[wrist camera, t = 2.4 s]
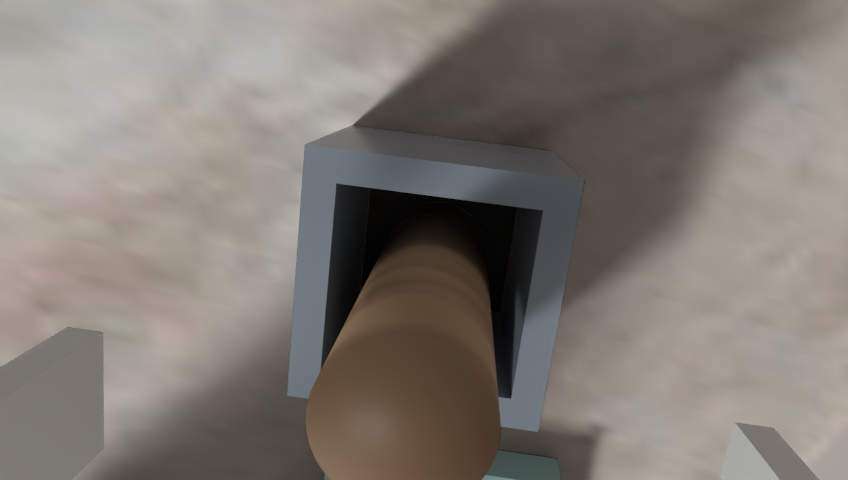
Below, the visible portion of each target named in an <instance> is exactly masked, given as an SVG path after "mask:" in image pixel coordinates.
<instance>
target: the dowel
mask: <svg viewBox="0 0 848 480" xmlns="http://www.w3.org/2000/svg"><path fill="white" fill-rule="evenodd" d="M305 425H306V433H307V438H308V441H309V445H310V448H311V450H312V453H313V455H314V457H315V459H316V461H317V462H318V464H319V466H320V467H321V469H322V470H323V471H324V473H325V474H326V475H327V476H328V478H329V479H330V480H482V479H483V477H484V476H485V475H486V474H487V472H488V470H489V469H490V467H491V465H492V464H493V461H494V459H495V456H496V454H497V451H498V447H499V443H500V434H501V423H500V410H499V398H498V387H497V375H496V364H495V353H494V341H493V330H492V318H491V307H490V296H489V284H488V273H487V261H486V250H485V241H484V236H483V233H482V231H481V229H480V227H479V225H478V223H477V222H476V220H475V219H474V218H473V217H472V216H471V215H470V214H469V213H468V212H467V211H465V210H464V209H462V208H460V207H458V206H456V205H454V204H451V203H446V202H438V201H435V202H427V203H422V204H419V205H417V206H415V207H413V208H411V209H410V210H408V211H407V212H406V213H404V214H403V215H402V216H401V217H400V219H399V220H398V221H397V223H396V224H395V226H394V228H393V230H392V232H391V234H390V236H389V238H388V240H387V242H386V244H385V246H384V247H383V249H382V251H381V253H380V255H379V257H378V259H377V261H376V263H375V265H374V267H373V269H372V271H371V273H370V275H369V277H368V279H367V281H366V283H365V285H364V287H363V289H362V291H361V293H360V295H359V297H358V298H357V300H356V302H355V304H354V306H353V308H352V310H351V312H350V314H349V316H348V318H347V320H346V322H345V324H344V326H343V328H342V330H341V332H340V334H339V336H338V338H337V340H336V342H335V344H334V346H333V348H332V349H331V351H330V353H329V355H328V357H327V359H326V361H325V363H324V365H323V367H322V369H321V371H320V373H319V375H318V377H317V379H316V381H315V383H314V385H313V387H312V389H311V392H310V395H309V398H308V401H307V407H306V417H305Z"/></svg>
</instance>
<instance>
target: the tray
mask: <svg viewBox="0 0 848 480" xmlns="http://www.w3.org/2000/svg"><path fill="white" fill-rule="evenodd" d="M324 480H330V479H329V478H328V476H327V475H326V474H325V473H324ZM482 480H561V476H560V472H559V467H558V463H557V459H555V458H548V457H541V456H535V455H528V454H521V453H514V452H507V451H500V450H498V451H497V454H496V456H495V459H494V461H493V464H492V465H491V467H490V469H489V470H488V472H487V474H486V475H485V476H484V477H483V479H482Z"/></svg>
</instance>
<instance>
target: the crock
mask: <svg viewBox="0 0 848 480" xmlns="http://www.w3.org/2000/svg"><path fill="white" fill-rule="evenodd" d="M584 181H585V180H583V179H582V178H581V177H580V176H579V175H578V174H577V173H576V172H575V171H574V170H572V169H571V168H570V167H569V166H568V165H567V164H566V163H565V162H564V161H562V160H561V159H560V158H559V157H558V156H557V155H556V154H555V153H554V152H553V151H549V150H542V149H534V148H526V147H518V146H510V145H502V144H494V143H486V142H479V141H471V140H463V139H455V138H447V137H439V136H431V135H423V134H416V133H408V132H400V131H392V130H384V129H376V128H368V127H360V126H353V125H352V126H349V127H347V128H344V129H342V130H339V131H337V132H334V133H332V134H330V135H327V136H325V137H322V138H320V139H317V140H315V141H312V142H310V143H308V144H305V149H304V163H303V177H302V192H301V206H300V220H299V234H298V248H297V262H296V276H295V290H294V304H293V318H292V332H291V346H290V360H289V374H288V388H287V396H291V397H298V398H305V399H308V398H309V395H310V392H311V389H312V387H313V385H314V383H315V381H316V379H317V377H318V375H319V373H320V371H321V369H322V367H323V365H324V363H325V361H326V359H327V357H328V355H329V353H330V351H331V349H332V348H333V346H334V344H335V342H336V340H337V338H338V336H339V334H340V332H341V330H342V328H343V326H344V324H345V322H346V320H347V318H348V316H349V314H350V312H351V310H352V308H353V306H354V304H355V302H356V300H357V298H358V297H359V295H360V291H361V281H362V270H363V260H364V250H365V240H366V230H367V220H368V210H369V200H370V190H371V188H375V189H382V190H390V191H398V192H405V193H413V194H421V195H428V196H436V197H444V198H451V199H459V200H467V201H474V202H482V203H490V204H497V205H505V206H513V207H517V210H516V216H515V223H514V229H513V235H512V241H511V248H510V254H509V260H508V267H507V273H506V279H505V285H504V292H503V298H502V304H501V310H500V312H493V311H491V318H492V330H493V341H494V353H495V364H496V375H497V387H498V398H499V410H500V423H501V427H506V428H513V429H520V430H527V431H534V432H538V430H539V425H540V419H541V414H542V408H543V403H544V398H545V392H546V387H547V381H548V376H549V371H550V365H551V360H552V354H553V349H554V344H555V338H556V333H557V327H558V322H559V317H560V311H561V306H562V300H563V295H564V289H565V284H566V279H567V273H568V268H569V262H570V257H571V252H572V246H573V241H574V235H575V230H576V225H577V219H578V214H579V208H580V203H581V198H582V192H583V187H584Z"/></svg>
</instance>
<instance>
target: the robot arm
mask: <svg viewBox="0 0 848 480" xmlns="http://www.w3.org/2000/svg"><path fill="white" fill-rule="evenodd" d="M103 448H104V395H103V332H100V331H93V330H86V329H79V328H72V327H67V328H65V329H64V330H62V331H60V332H59V333H57V334H55V335H54V336H52V337H50V338H49V339H47V340H45V341H44V342H42V343H40V344H39V345H37V346H35V347H34V348H32V349H30V350H29V351H27V352H25V353H24V354H22V355H20V356H19V357H17V358H15V359H14V360H12V361H10V362H9V363H7V364H5V365H4V366H2V367H0V480H72V479H73V478H74V477H75V476H76V475H77V474H78V473H79V472H80V471H81V470H82V469H83V468H84V467H85V466H86V465H87V464H88V463H89V462H90V461H91V460H92V459H93V458H94V457H95V456H96V455H97V454H98V453H99V452H100V451H101V450H102V449H103ZM720 480H819V479H818V478H817V477H816V476H815V474H814V473H813V472H812V471H811V470H810V469H809V468H808V466H807V465H806V464H805V463H804V462H803V461H802V460H801V458H800V457H799V456H798V455H797V454H796V453H795V452H794V451H793V449H792V448H791V447H790V446H789V445H788V444H787V443H786V441H785V440H784V439H783V438H782V437H781V436H780V435H779V434H778V432H777V431H776V430H775V429H774V428H771V427H764V426H757V425H750V424H743V423H736V422H735V424H734V428H733V432H732V436H731V439H730V443H729V447H728V451H727V454H726V458H725V462H724V466H723V470H722V473H721V477H720Z"/></svg>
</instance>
